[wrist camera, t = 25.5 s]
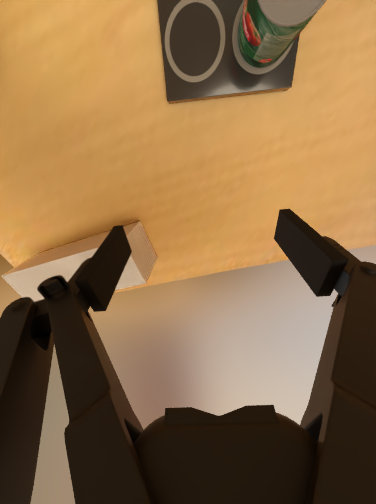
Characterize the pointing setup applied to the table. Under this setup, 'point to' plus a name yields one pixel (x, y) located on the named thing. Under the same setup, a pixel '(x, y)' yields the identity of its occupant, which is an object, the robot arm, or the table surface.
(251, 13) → the canned tomato
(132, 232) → the beige rectangular block
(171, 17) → the hob
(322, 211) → the table surface
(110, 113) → the table surface
